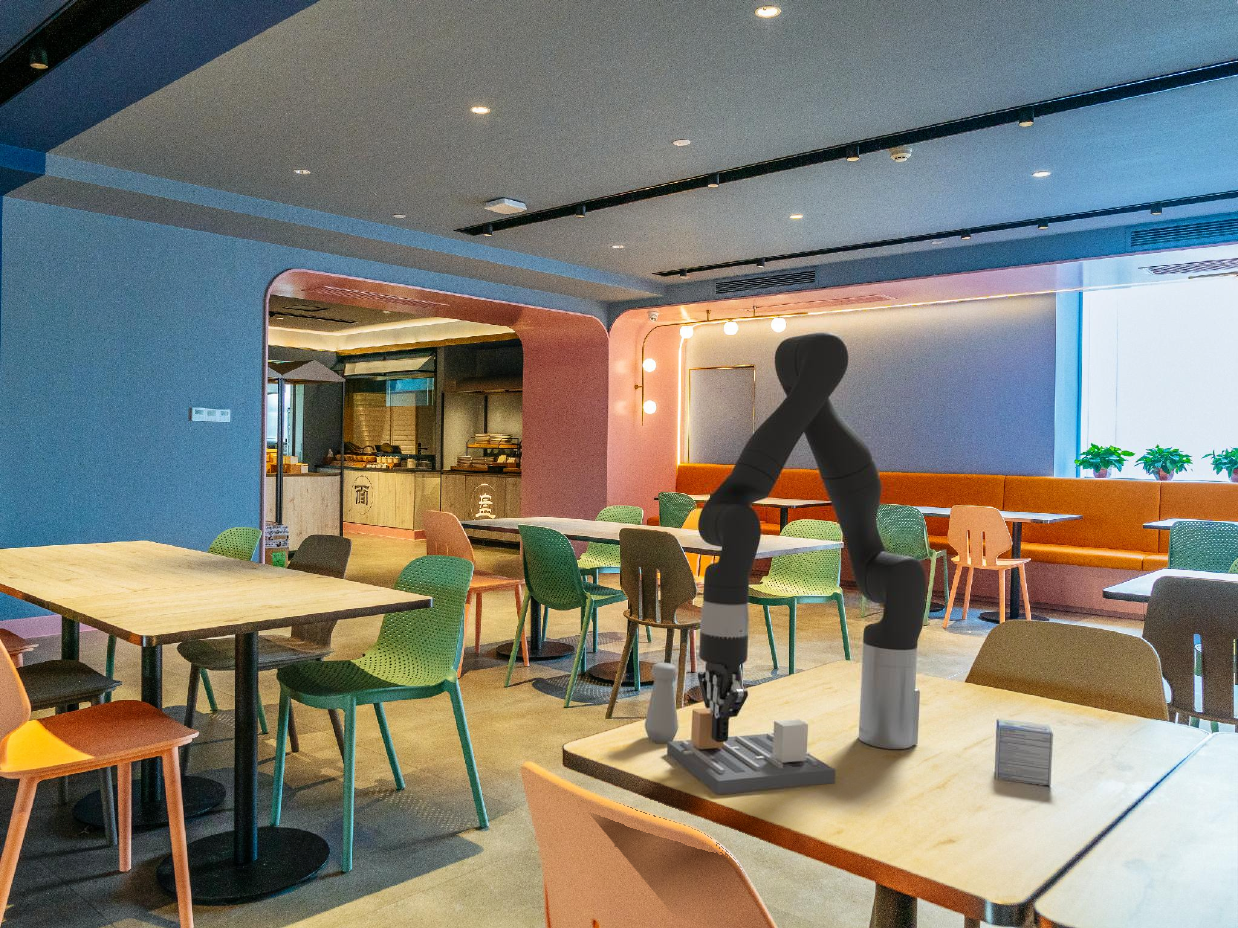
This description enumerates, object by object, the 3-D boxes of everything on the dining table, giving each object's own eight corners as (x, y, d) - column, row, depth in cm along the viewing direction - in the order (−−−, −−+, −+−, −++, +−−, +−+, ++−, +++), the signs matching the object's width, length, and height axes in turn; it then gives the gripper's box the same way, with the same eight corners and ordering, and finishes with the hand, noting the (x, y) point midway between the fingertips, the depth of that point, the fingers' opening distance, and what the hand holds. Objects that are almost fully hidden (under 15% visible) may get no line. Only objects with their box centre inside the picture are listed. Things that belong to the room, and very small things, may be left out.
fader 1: (715, 741, 144) (716, 707, 144) (723, 747, 141) (724, 712, 141) (690, 743, 142) (692, 709, 142) (698, 749, 140) (700, 714, 140)
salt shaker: (675, 746, 148) (678, 669, 148) (641, 742, 149) (645, 666, 149) (679, 736, 153) (683, 661, 153) (647, 732, 155) (650, 659, 155)
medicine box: (1047, 778, 141) (1049, 724, 140) (1051, 787, 136) (1053, 732, 136) (993, 770, 143) (996, 717, 143) (995, 779, 139) (998, 724, 139)
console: (773, 744, 151) (774, 729, 151) (834, 782, 134) (835, 765, 134) (667, 753, 144) (667, 737, 144) (717, 794, 127) (718, 776, 127)
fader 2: (796, 754, 139) (798, 718, 139) (806, 760, 137) (808, 724, 137) (772, 756, 138) (774, 720, 138) (781, 762, 135) (783, 726, 135)
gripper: (766, 638, 133) (761, 752, 133) (725, 621, 145) (721, 726, 145) (722, 639, 130) (717, 756, 130) (684, 622, 143) (680, 729, 143)
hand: (719, 740), depth 138 cm, fingers closed
